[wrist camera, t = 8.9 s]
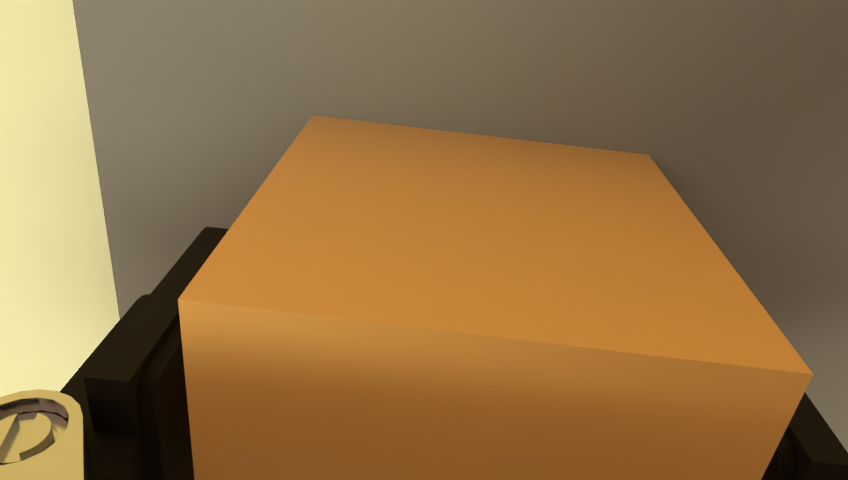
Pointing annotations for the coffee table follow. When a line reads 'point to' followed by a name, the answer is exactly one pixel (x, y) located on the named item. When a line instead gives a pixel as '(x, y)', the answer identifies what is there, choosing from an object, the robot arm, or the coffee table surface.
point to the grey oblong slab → (494, 118)
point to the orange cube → (476, 321)
